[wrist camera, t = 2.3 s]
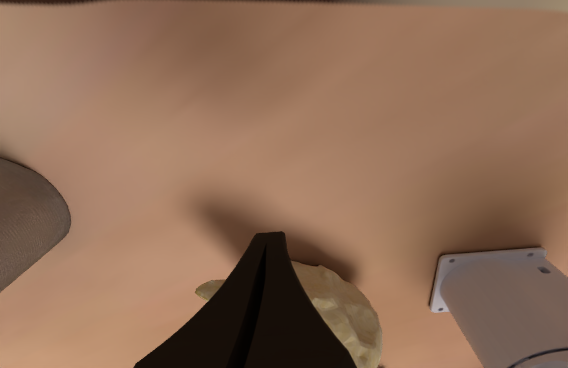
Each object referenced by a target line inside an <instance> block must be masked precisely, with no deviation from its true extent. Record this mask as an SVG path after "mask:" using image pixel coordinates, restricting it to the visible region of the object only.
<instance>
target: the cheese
mask: <svg viewBox="0 0 568 368" xmlns="http://www.w3.org/2000/svg"><path fill="white" fill-rule="evenodd" d="M291 263H292V266H293V268H294V270H295V272H296V275H297V277H298V279H299V281H300V283H301V285H302V287H303V288H304V290H305V292H306V294H307V295H308V297H309V299H310V300H311V302H312V304H313V305H314V307H315V308H316V310H317V311H318V312H319V314H320V315H321V317H322V318H323V320H324V321H325V323H326V324H327V325H328V326H329V328H330V329H331V330H332V332H333V333H334V334H335V335H336V337H337V338H338V339H339V340H340V342H341V343H342V344H343V345H344V346H345V347H346V348H347V350H348V351H349V353H350V355H351V357H352V359H353V360H354V362H355V364H356V366H357V368H377V367H378V364H379V362H380V358H381V353H382V329H381V326H380V323H379V319H378V315H377V313H376V311H375V310H374V309H373V308H372V306H371V304H370V302H369V300H368V299H367V298H366V297H365V296H364V294H363V293H362V292H361V291H360V290H359V289H358V288H357V287H356V286H354V285H353V284H351V283H349V282H346V281H344V280H342V279H341V278H340V277H339V275H338V274H336V273H335V272H334V271H332V270H329V269H327V268H325V267H324V266H322V265H319V266H317V267H316V266H310V265H305V264H301V263H299V262H295V261H291ZM225 281H226V280H211V281H209V282H206V283H204V284H202V285H200V286H199V287H198V288H197V289H196V291H195V293H196V294H197V295H198V296H199V297H200V298H202V299H204V300H206V301H207V302H208V301H209V300H210V299H211V297H212V296H213V295H214V294H215V293H216V292H217V291H218V289H219V288H220V287H221V286H222V284H223V283H224V282H225Z"/></svg>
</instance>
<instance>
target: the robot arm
mask: <svg viewBox="0 0 568 368" xmlns="http://www.w3.org/2000/svg"><path fill="white" fill-rule="evenodd" d="M546 255H547V250H545V249H544V248H541V247H539V248H527V249H514V250H501V251H489V252H476V253H463V254H451V255H443V256H441V257H440V258H439V262H438V267H437V272H436V277H435V282H434V287H433V292H432V297H431V302H430V310H431V311H432V312H450V313H451V314H452V316H453V317H454V319H455V321H456V322H457V324H458V326H459V327H460V329H461V331H462V332H463V334H464V336H465V337H466V339H467V341H468V342H469V344H470V345H471V347H472V349H473V350H474V352H475V354H476V355H477V357H478V359H479V360H480V362H481V364H482V365H483V367H484V368H568V277H567V276H566V275H564V274H563V273H562V272H561V271H560V270H558V269H557V268H556V267H555V266H554V265H552V264H551V263H550V262H549V261H547V260H546V259H545V257H546ZM134 368H357V366H356V364H355V362H354V360H353V359H352V357H351V355H350V353H349V351H348V350H347V348H346V347H345V346H344V345H343V344H342V343H341V342H340V340H339V339H338V338H337V337H336V335H335V334H334V333H333V332H332V330H331V329H330V328H329V326H328V325H327V324H326V323H325V321H324V320H323V318H322V317H321V315H320V314H319V312H318V311H317V310H316V308H315V307H314V305H313V304H312V302H311V300H310V299H309V297H308V295H307V294H306V292H305V290H304V288H303V287H302V285H301V283H300V281H299V279H298V277H297V275H296V272H295V270H294V268H293V266H292V263H291V260H290V258H289V255H288V251H287V244H286V238H285V233H284V232H282V231H280V232H269V233H258V234H256V235H255V236H254V238H253V239H252V241H251V243H250V245H249V246H248V248H247V250H246V251H245V253H244V255H243V256H242V258H241V259H240V261H239V262H238V264H237V265H236V267H235V268H234V270H233V271H232V272H231V274H230V275H229V276H228V278H227V279H226V281H225V282H224V283H223V284H222V286H221V287H220V288H219V289H218V291H217V292H216V293H215V294H214V295H213V296H212V297H211V299H210V300H209V301H208V302H207V303H206V304H205V305H204V306H203V307H202V308H201V309H200V310H199V311H198V312H197V313H196V314H195V315H194V316H193V317H192V318H191V319H190V320H189V321H188V322H187V323H186V324H185V325H184V326H182V327H181V328H180V329H179V330H178V331H177V332H176V333H174V334H173V335H172V336H171V337H170V338H169V339H167V340H166V341H165V342H164V343H162V344H161V345H160V346H158V347H157V348H156V349H154V350H153V351H152V352H151V353H149V354H148V355H147V356H145V357H144V358H143V359H141V360H140V361H139V362H137V363H136V364H135V366H134Z"/></svg>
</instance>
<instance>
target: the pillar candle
mask: <svg viewBox="0 0 568 368" xmlns="http://www.w3.org/2000/svg"><path fill="white" fill-rule="evenodd" d="M70 224H71V219H70V213H69V210H68V207H67V204H66V203H65V201H64V199H63V198H62V196H61V195H60V194H59V192H58V190H56V188H55V187H54V186H53V185H51V184H50V183H49V182H48V181H47V180H46V179H45V178H44V177H43V176H41V175H40V174H38V173H36V172H34V171H32V170H30V169H27V168H25V167H22V166H20V165H18V164H15V163H13V162H10V161H7V160H4V159H2V158H0V292H1V291H2V290H4V289H5V288H6V287H7V286H8V285H10V284H11V283H12V282H13V281H14V280H16V279H17V278H18V277H19V276H20V275H21V274H22V273H24V272H25V271H26V270H27V269H29V268H30V267H31V266H32V265H33V264H34V263H36V262H37V261H38V260H39V259H40V258H41V257H42V256H44V255H45V254H46V253H47V252H48V251H50V250H51V249H52V248H53V247H54V246H55V245H57V244H58V243H59V242H60V241H61V240H62V239H63V238H64V237H65V236H66V235H67V233H68V232H69V228H70Z"/></svg>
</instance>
